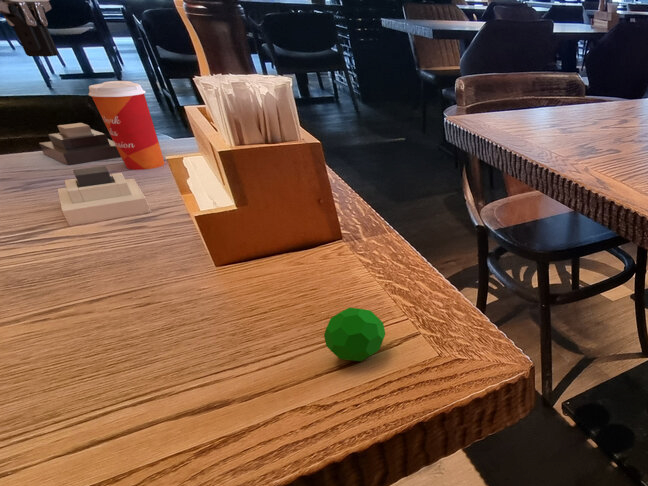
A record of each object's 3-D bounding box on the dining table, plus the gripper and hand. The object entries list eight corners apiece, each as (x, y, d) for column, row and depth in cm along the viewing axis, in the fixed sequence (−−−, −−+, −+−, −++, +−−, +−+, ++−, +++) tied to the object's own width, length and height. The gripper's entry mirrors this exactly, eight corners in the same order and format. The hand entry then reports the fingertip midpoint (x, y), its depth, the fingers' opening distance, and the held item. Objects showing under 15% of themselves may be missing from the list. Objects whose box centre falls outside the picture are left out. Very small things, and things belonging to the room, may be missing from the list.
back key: (62, 136, 98) (57, 125, 97) (86, 133, 101) (81, 122, 100) (69, 139, 97) (64, 128, 96) (93, 136, 99) (89, 125, 98)
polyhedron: (357, 378, 46) (346, 333, 44) (318, 361, 48) (306, 317, 45) (399, 349, 50) (392, 306, 47) (362, 335, 52) (353, 293, 49)
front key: (79, 183, 76) (73, 169, 75) (111, 179, 78) (105, 165, 77) (81, 189, 74) (75, 175, 73) (114, 185, 76) (108, 171, 75)
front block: (64, 202, 79) (51, 177, 77) (139, 191, 84) (129, 167, 82) (69, 226, 72) (55, 198, 70) (151, 212, 77) (140, 185, 75)
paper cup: (116, 164, 96) (82, 83, 90) (167, 158, 101) (139, 81, 94) (122, 174, 92) (87, 89, 85) (175, 167, 96) (146, 86, 90)
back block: (44, 154, 100) (33, 133, 98) (102, 146, 107) (93, 126, 105) (68, 165, 95) (58, 143, 93) (128, 156, 101) (119, 135, 99)
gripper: (-16, -90, 74) (47, 51, 83) (-115, -108, 62) (-28, 60, 71) (46, -87, 76) (102, 51, 85) (-38, -104, 63) (38, 61, 72)
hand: (43, 55), depth 78 cm, fingers closed
